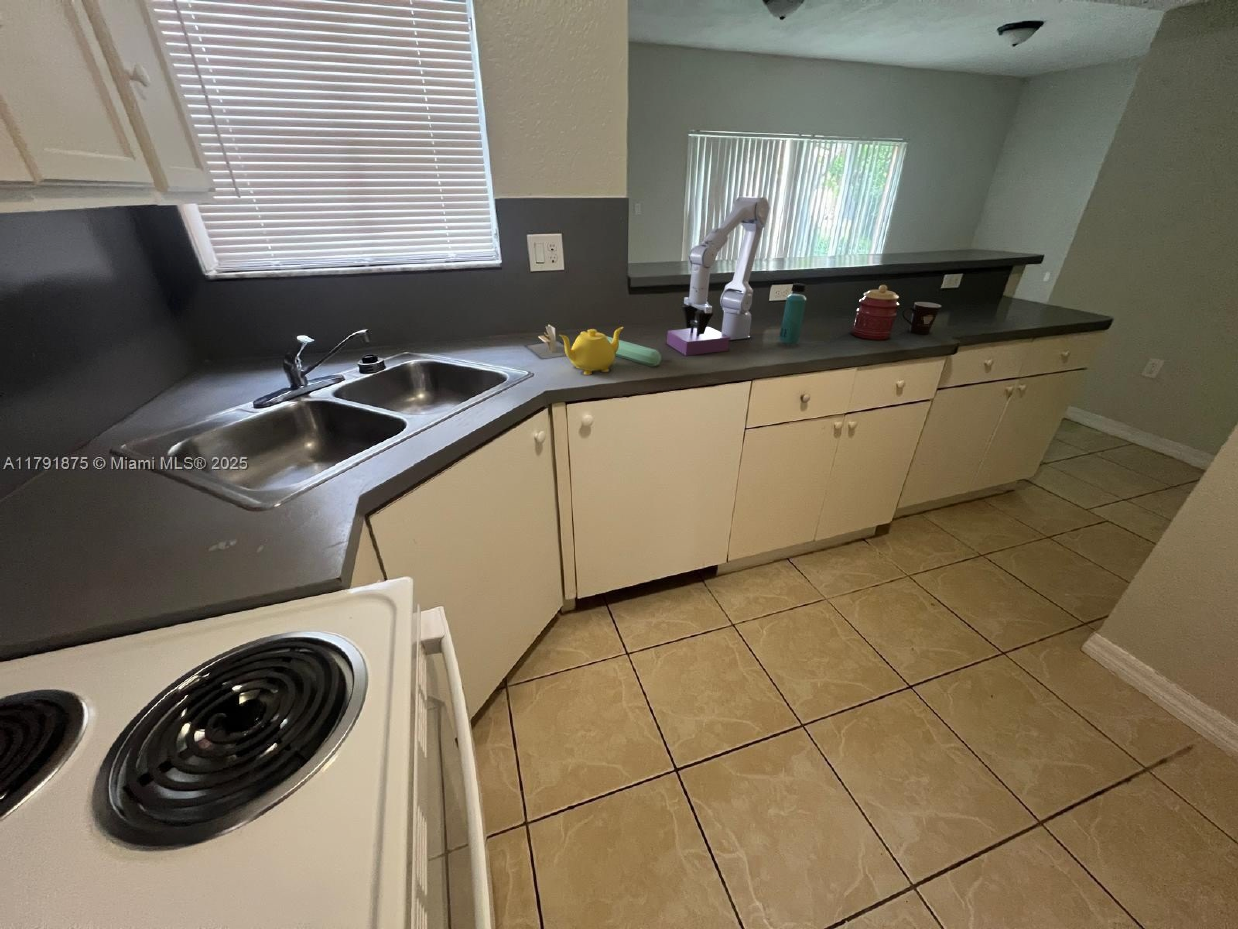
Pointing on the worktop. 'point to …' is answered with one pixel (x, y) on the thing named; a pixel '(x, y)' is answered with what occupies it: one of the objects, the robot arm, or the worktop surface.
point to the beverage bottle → (793, 315)
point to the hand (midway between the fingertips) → (695, 330)
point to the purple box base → (697, 346)
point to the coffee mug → (922, 317)
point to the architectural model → (548, 345)
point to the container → (637, 353)
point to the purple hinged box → (694, 337)
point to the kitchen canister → (876, 314)
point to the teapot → (592, 350)
